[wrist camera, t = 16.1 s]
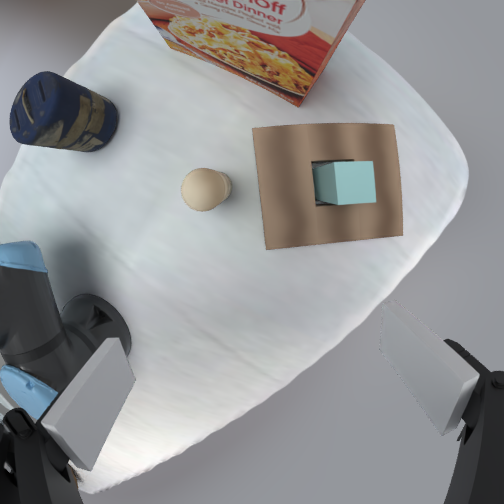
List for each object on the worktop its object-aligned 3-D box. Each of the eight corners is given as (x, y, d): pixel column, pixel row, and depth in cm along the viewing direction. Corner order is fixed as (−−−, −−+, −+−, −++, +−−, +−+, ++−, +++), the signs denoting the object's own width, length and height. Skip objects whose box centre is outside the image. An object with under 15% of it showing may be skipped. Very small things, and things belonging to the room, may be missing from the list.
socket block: (265, 243, 40) (266, 250, 37) (252, 134, 37) (252, 128, 33) (391, 230, 39) (403, 235, 36) (382, 129, 36) (393, 124, 32)
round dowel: (205, 205, 39) (186, 216, 28) (198, 176, 38) (176, 174, 27) (235, 198, 39) (228, 205, 27) (227, 168, 38) (218, 163, 26)
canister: (79, 161, 38) (2, 158, 20) (72, 114, 36) (0, 95, 18) (125, 138, 37) (52, 118, 20) (115, 89, 35) (49, 52, 17)
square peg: (314, 199, 39) (338, 205, 27) (311, 169, 38) (333, 162, 26) (343, 197, 39) (376, 202, 27) (340, 167, 38) (372, 161, 26)
